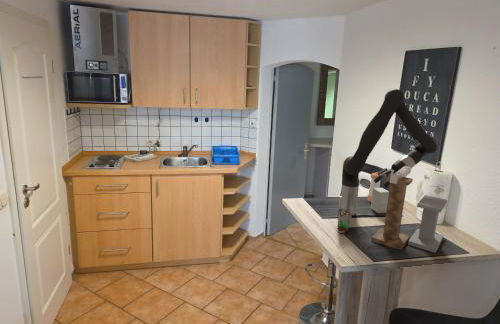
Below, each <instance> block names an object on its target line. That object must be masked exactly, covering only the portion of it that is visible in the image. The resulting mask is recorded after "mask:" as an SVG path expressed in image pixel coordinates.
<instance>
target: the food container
mask: <svg viewBox="0 0 500 324" xmlns="http://www.w3.org/2000/svg"><path fill="white" fill-rule="evenodd" d="M338 208H339V207H338ZM352 216H353V215H351V212H350V211H348V210H346V209H343V208H339V212H338V217H337V234H338V233H340V234H339V235H345V234H347V233H348V232H349V226H350V222H351V219H352V218H353V217H352Z"/></svg>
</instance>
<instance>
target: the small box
mask: <svg viewBox="0 0 500 324" xmlns="http://www.w3.org/2000/svg"><path fill="white" fill-rule="evenodd" d="M388 196H389V190H387V189H385V188H384V187H380V188H373V193H372V201H371V202H370V209H371V210H373V211H374V212H376V213H377V214H384V213H385V214H386V210H387V203H388Z"/></svg>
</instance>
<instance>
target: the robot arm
mask: <svg viewBox="0 0 500 324" xmlns="http://www.w3.org/2000/svg"><path fill="white" fill-rule="evenodd" d="M404 100H405V94H404V92H403V91H402V90H401V89H396V88H394V89H390V90H389V91H387V92H386V93H385V95H384V100H383V102H382V104H381V106H380V108H379V110H378V111H377V113H375V115H374V116H373V117H372V119H371V120H370V121H369V123H368V124H367V126H366V128H364V131H362V134H361V137H360V139H359V144H358V147H357V148H356V151H355V153H354V154H353V155H351V156H348V157H346V158H345V159H344V161H343V163H342V174H341V179H342V180H341V181H342V182H341V194H340V195H339V201H338V210H337V212H338V213H339V208H343V209H346V210H348V211H350V212H351V216H354V215H356V213H357V205H358V196H359V190H360V189H359V188H360V177H359V176H360V175H359V174H361V172H362V170H363V168H364V166H365V164H366V163H367V159H368V158H369V156H370V155H371V153H372V152H373V150H374V149H375V148H376V145H377V144H378V142H379V141H380V139H381V138H382V136H383V134H384V133H385V131H386V129H387V127H388V125H389V123H390V121H391V120H392V117H393V116H394V115H395V114H396V116H397V117H398V118H399V120H400V121H401V123H402V125H403V127H404V128H405V129H406V131H407V132H408V134H409V136H410V137H411V138H412V140H413V141H416V142H418V144H417V145H415V146H414V147H413V149H412V150H410V151H409V152H408V153H406V154H405V155H404V156H401V157H400V158H399V159H398V160H396V161H395V162H394V163H393V164H391V168H389V169H388V168H387V167H385V168H384V169H382V170H381V171H379V172H378V177H377V178H375V179H374V182H375V183H377V182H379V181H380V182H381V180H383V179H386V178H387V177H388V176H390V175H393V174H394V173H396V172H397V171H399V170H400V169H401V168H403V167H404V166H409V167H411V170H412V169H413V167H415V166H416V165H418V164H419V163H420V162H421V161H422V160H423V157H425V156H426V155H430V154H434V153H435V152H436V151H437V149H438V145H437V143H436V140H434V138H433V137H431V135H429V134H428V133H427V132H426V130H425V129H424V128H423V126H422V125H421V123H420V122H419V120H418V119H417V117H415V115H413V113H412V112H411V111H410V109H408V107H407V105H406V102H405V101H404ZM383 186H384V187H385V188H387V187H388V186H390V182H387V181H386V180H385V181H384V182H383Z"/></svg>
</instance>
